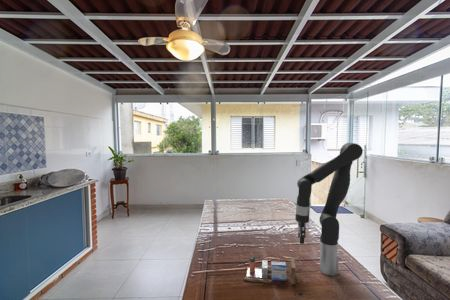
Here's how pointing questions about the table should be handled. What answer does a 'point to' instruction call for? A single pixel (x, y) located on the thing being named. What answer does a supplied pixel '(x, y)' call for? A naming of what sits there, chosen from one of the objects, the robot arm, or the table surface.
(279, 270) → the medicine box
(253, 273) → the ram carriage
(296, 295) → the table surface
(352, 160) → the robot arm
